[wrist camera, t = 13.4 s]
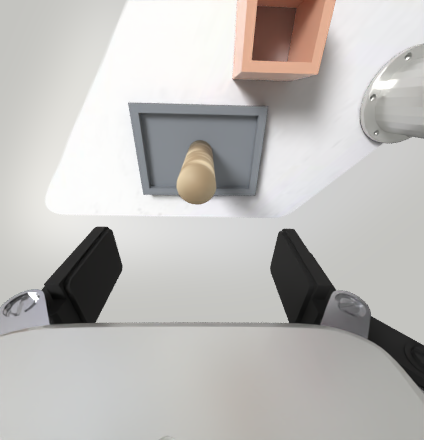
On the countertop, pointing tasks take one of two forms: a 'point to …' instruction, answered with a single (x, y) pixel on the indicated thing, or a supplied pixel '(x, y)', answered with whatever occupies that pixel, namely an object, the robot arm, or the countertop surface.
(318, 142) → the countertop surface
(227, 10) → the countertop surface
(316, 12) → the deep cup
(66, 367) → the robot arm
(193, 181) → the dowel
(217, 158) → the tray
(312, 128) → the countertop surface
